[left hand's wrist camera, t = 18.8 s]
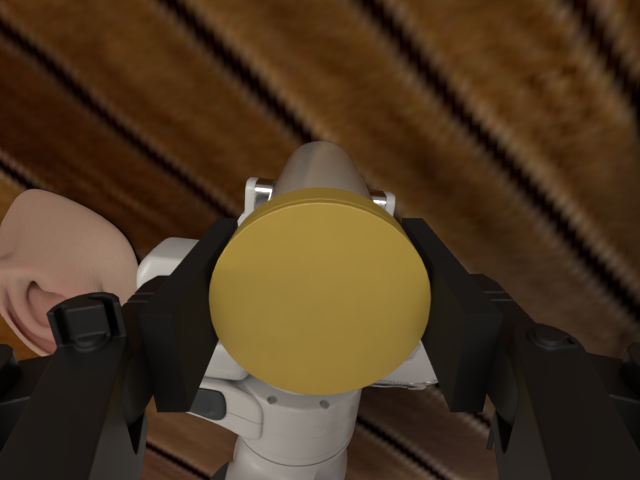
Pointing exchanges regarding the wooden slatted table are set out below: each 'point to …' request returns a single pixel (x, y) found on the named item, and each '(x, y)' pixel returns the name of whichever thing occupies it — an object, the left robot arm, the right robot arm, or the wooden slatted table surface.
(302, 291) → the lid
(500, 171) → the wooden slatted table surface
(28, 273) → the anatomical model
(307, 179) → the jar
